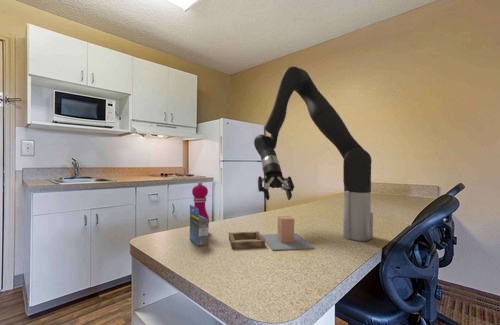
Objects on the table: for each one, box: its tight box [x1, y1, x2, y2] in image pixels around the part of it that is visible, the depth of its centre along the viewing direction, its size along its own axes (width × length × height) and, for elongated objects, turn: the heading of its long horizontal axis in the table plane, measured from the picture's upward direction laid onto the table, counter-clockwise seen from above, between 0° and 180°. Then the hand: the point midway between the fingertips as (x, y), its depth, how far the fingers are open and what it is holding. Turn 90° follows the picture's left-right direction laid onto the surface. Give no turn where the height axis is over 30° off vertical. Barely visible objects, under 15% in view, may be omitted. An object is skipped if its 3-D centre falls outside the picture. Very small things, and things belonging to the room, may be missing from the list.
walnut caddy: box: [228, 231, 266, 250], centre depth 84 cm, size 11×11×2 cm
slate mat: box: [260, 232, 315, 252], centre depth 86 cm, size 14×16×1 cm
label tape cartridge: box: [189, 204, 210, 247], centre depth 84 cm, size 9×4×12 cm, turn 32°
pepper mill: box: [191, 180, 210, 221], centre depth 95 cm, size 7×7×20 cm
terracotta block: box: [277, 215, 295, 243], centre depth 86 cm, size 4×4×8 cm
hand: (279, 198), depth 94 cm, fingers open, 8 cm apart
